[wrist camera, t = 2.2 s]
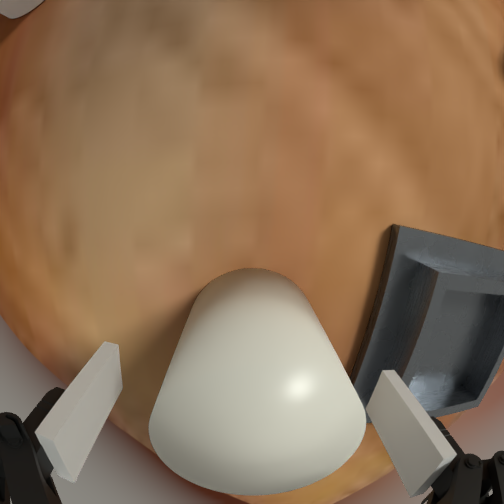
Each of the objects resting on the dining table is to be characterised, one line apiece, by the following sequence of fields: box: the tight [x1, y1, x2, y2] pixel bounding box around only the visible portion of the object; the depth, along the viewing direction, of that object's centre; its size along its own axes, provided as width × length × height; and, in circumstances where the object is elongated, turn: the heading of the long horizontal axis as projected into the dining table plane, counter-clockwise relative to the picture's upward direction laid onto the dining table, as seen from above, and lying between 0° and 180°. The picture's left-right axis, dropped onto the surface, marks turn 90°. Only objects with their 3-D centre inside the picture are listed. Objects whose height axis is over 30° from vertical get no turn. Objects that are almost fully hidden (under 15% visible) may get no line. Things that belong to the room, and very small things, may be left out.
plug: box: [149, 268, 366, 495], centre depth 14 cm, size 8×8×10 cm
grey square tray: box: [350, 224, 504, 423], centre depth 18 cm, size 16×16×4 cm
